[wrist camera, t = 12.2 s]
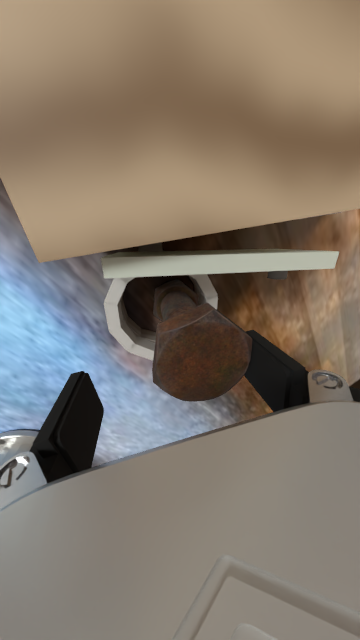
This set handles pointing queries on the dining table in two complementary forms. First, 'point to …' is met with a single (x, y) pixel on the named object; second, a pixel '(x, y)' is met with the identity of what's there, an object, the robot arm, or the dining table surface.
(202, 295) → the grey piece
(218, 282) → the dining table surface
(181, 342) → the bolt
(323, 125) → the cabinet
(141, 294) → the dining table surface
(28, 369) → the dining table surface
